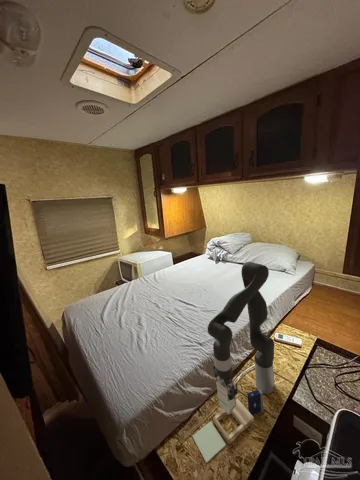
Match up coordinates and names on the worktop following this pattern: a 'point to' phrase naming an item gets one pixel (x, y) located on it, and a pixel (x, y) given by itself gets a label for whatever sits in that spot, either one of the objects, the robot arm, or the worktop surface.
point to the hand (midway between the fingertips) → (226, 392)
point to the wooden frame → (241, 417)
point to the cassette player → (255, 401)
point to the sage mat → (208, 441)
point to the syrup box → (225, 397)
